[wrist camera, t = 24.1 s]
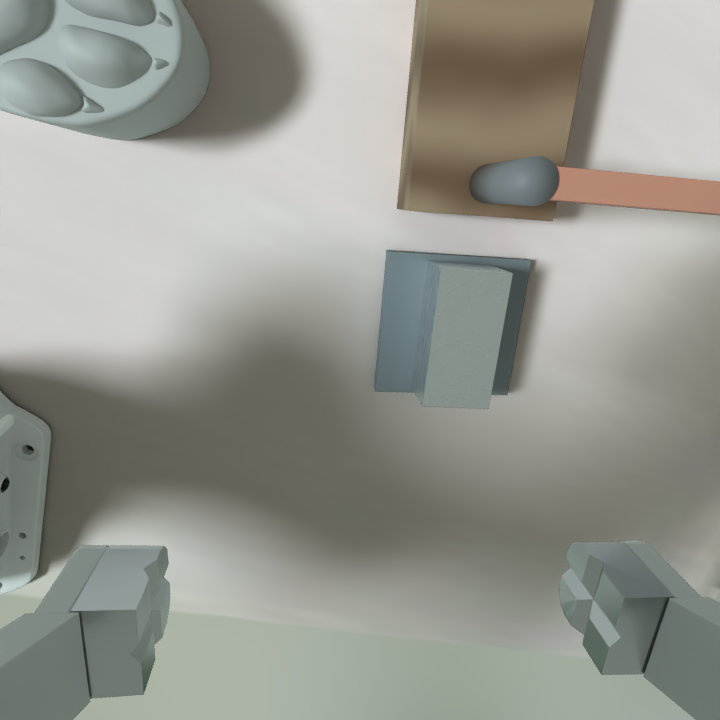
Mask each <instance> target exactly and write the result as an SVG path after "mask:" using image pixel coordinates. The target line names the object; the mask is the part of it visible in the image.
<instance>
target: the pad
mask: <svg viewBox="0 0 720 720" xmlns="http://www.w3.org/2000/svg"><path fill="white" fill-rule="evenodd" d="M427 260H428V261H442V262H455V263H468V264H482V265H493V266H495V267H498V268H500V269H503V270H506V271H508V272H511V273H513V275H512V281H511V287H510V292H509V298H508V303H507V309H506V314H505V320H504V326H503V331H502V337H501V342H500V348H499V353H498V359H497V365H496V370H495V376H494V381H493V387H492V392H491V395H508V389H509V384H510V378H511V373H512V367H513V361H514V356H515V350H516V345H517V339H518V333H519V328H520V322H521V317H522V311H523V305H524V300H525V294H526V289H527V283H528V277H529V272H530V266H531V260H528V259H515V258H500V257H484V256H469V255H453V254H438V253H422V252H407V251H391V250H387V251H386V262H385V273H384V285H383V296H382V307H381V319H380V330H379V341H378V353H377V364H376V375H375V387H374V388H375V391H380V392H414V390H413V388H412V387H411V385H412V377H413V369H414V361H415V353H416V345H417V337H418V329H419V321H420V313H421V305H422V297H423V289H424V281H425V273H426V265H427ZM414 393H415V392H414Z"/></svg>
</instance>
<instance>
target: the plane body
mask: <svg viewBox="0 0 720 720" xmlns="http://www.w3.org/2000/svg"><path fill="white" fill-rule="evenodd" d="M593 4H594V0H416V8H415V19H414V30H413V41H412V51H411V62H410V73H409V84H408V95H407V106H406V117H405V127H404V138H403V149H402V160H401V171H400V182H399V192H398V203H397V209H402V210H409V211H422V212H436V213H449V214H462V215H476V216H489V217H502V218H516V219H529V220H543V221H553V218H554V213H555V207H556V202H557V201H547V202H545V203H544V204H541V205H538V206H524V205H505V204H487V203H480V202H478V201H477V200H475V199H474V198H473V196H472V195H471V193H470V189H469V182H470V178H471V176H472V174H473V172H474V171H475V170H476V169H477V168H478V167H480V166H482V165H485V164H491V163H497V162H503V161H509V160H515V159H522V158H528V157H534V156H543V157H546V158H548V159H550V160H551V161H552V162H553V163H554V164H555V165H556V166H558V167H563V165H564V159H565V154H566V149H567V143H568V138H569V133H570V127H571V122H572V117H573V111H574V106H575V101H576V95H577V90H578V85H579V79H580V74H581V69H582V63H583V58H584V53H585V47H586V42H587V37H588V31H589V26H590V21H591V15H592V10H593Z"/></svg>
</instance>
